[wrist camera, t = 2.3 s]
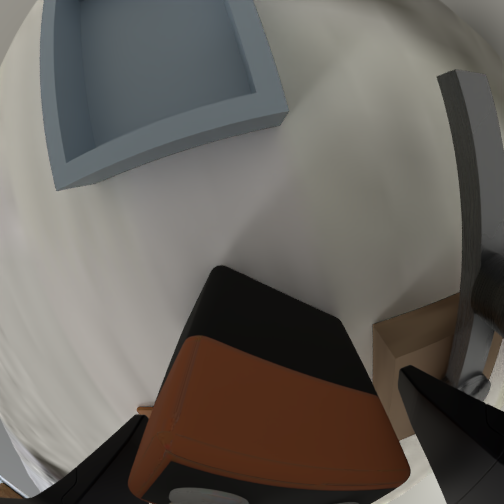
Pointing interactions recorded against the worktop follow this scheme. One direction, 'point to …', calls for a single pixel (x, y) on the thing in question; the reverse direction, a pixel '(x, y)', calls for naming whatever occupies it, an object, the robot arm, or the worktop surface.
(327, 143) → the worktop surface
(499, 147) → the crank
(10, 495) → the bread
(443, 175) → the worktop surface
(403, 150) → the worktop surface
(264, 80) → the tray
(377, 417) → the battery
